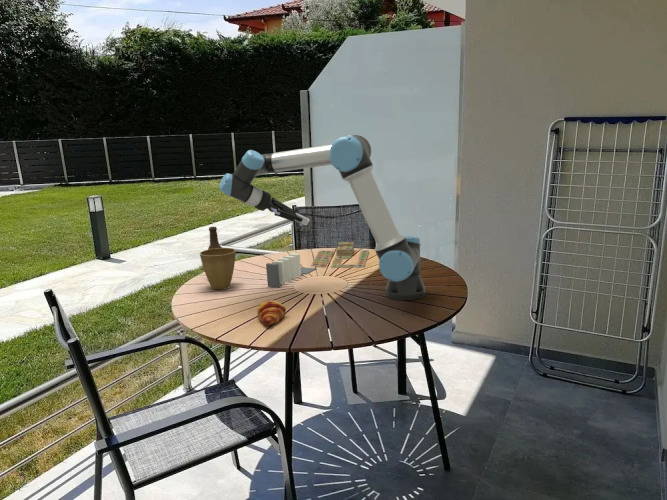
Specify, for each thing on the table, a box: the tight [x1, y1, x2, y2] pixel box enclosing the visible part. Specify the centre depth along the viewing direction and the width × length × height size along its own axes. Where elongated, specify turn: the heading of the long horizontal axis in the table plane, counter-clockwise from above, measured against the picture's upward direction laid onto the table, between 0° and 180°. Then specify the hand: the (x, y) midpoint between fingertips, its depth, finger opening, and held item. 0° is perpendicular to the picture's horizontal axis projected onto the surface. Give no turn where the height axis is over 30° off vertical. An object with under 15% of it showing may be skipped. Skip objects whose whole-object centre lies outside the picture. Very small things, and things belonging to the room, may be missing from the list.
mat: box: [301, 266, 317, 275], centre depth 241 cm, size 9×8×1 cm
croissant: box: [256, 299, 287, 326], centre depth 183 cm, size 21×10×8 cm, turn 3°
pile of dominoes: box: [310, 241, 370, 269], centre depth 260 cm, size 35×27×6 cm
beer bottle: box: [207, 226, 223, 250], centre depth 233 cm, size 8×8×24 cm
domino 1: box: [265, 262, 281, 289], centre depth 218 cm, size 2×5×10 cm, turn 63°
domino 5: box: [287, 252, 302, 277], centre depth 234 cm, size 2×5×10 cm, turn 63°
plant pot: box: [199, 247, 237, 290], centre depth 220 cm, size 15×15×16 cm
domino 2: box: [271, 260, 286, 286], centre depth 222 cm, size 2×5×10 cm, turn 63°
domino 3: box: [277, 257, 292, 283], centre depth 226 cm, size 2×5×10 cm, turn 63°
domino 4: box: [282, 255, 297, 280], centre depth 230 cm, size 2×5×10 cm, turn 63°
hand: (307, 222), depth 212 cm, fingers closed
